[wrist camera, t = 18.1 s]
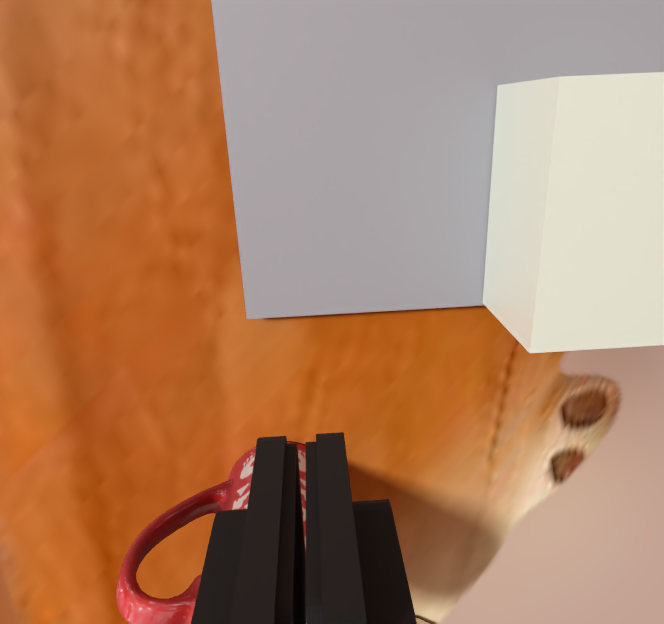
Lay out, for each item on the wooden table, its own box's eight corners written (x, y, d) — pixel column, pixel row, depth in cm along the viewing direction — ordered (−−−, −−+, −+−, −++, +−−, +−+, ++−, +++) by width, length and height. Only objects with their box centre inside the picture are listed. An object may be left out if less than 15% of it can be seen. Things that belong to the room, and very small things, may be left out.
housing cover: (617, 294, 30) (699, 342, 24) (482, 302, 30) (529, 353, 24) (654, 78, 26) (765, 67, 20) (497, 85, 26) (559, 76, 19)
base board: (625, 289, 31) (659, 308, 28) (248, 311, 31) (242, 333, 28) (678, -14, 26) (728, -30, 23) (215, 4, 25) (203, -11, 22)
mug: (371, 453, 35) (408, 645, 22) (317, 548, 38) (323, 766, 25) (192, 390, 32) (122, 565, 20) (149, 496, 35) (63, 709, 23)
